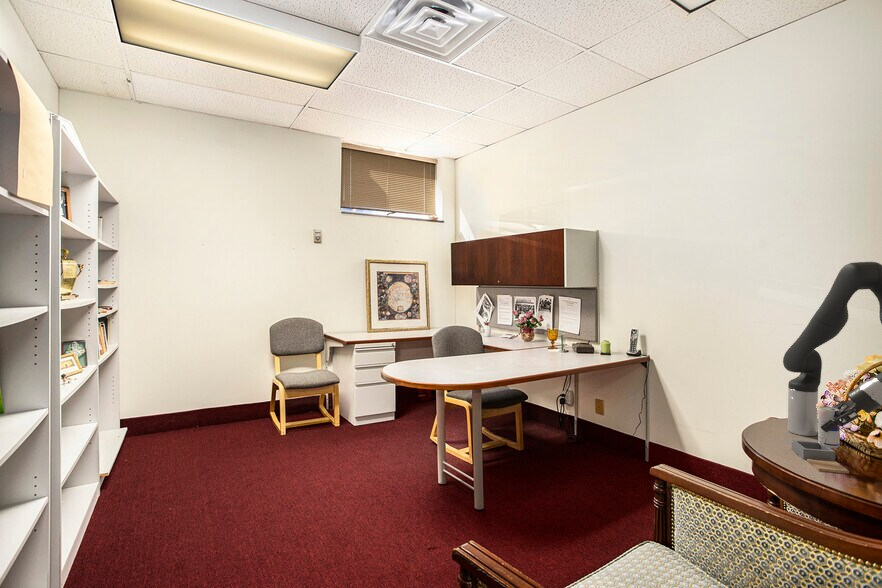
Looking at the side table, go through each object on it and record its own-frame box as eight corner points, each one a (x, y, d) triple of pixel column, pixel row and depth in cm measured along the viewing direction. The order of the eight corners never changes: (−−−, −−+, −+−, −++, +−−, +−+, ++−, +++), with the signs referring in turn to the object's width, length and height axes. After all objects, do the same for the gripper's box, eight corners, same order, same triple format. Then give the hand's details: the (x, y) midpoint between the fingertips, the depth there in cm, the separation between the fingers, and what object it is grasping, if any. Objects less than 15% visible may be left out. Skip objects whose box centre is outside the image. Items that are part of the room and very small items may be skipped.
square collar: (791, 449, 166) (791, 440, 166) (821, 452, 163) (821, 442, 163) (803, 459, 157) (803, 449, 157) (835, 462, 155) (835, 451, 155)
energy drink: (844, 448, 148) (844, 410, 147) (826, 448, 148) (826, 411, 148) (831, 442, 153) (831, 406, 152) (814, 442, 153) (814, 406, 153)
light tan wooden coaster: (807, 461, 156) (807, 458, 156) (835, 463, 154) (835, 461, 154) (818, 470, 148) (818, 468, 148) (849, 473, 146) (849, 471, 146)
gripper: (854, 381, 152) (808, 412, 159) (865, 390, 140) (814, 423, 146) (876, 399, 149) (827, 430, 156) (889, 410, 137) (836, 443, 144)
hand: (821, 426), depth 151 cm, fingers closed on energy drink, 5 cm apart
